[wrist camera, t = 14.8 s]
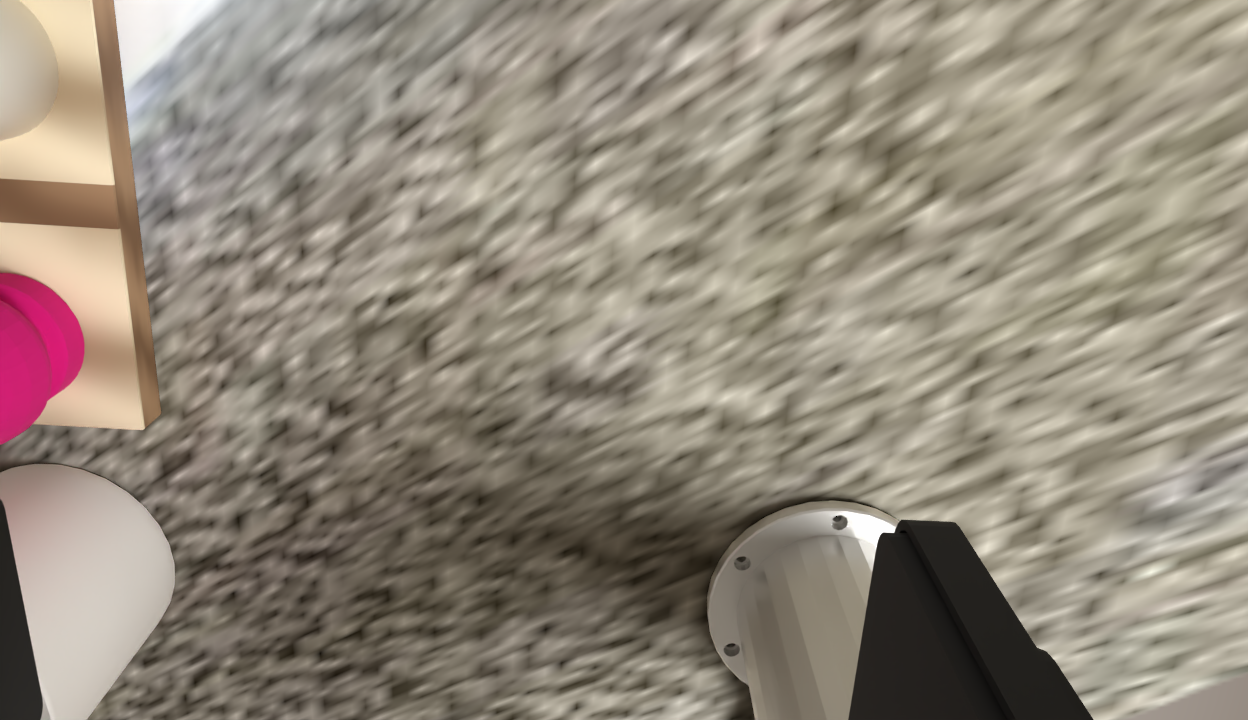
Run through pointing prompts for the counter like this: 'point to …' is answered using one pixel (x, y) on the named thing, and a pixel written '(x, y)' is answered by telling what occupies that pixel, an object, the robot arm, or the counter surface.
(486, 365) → the counter surface
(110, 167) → the wooden divided tray
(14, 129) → the salt mill
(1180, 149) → the counter surface
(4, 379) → the pepper mill
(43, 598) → the cup
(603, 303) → the counter surface
